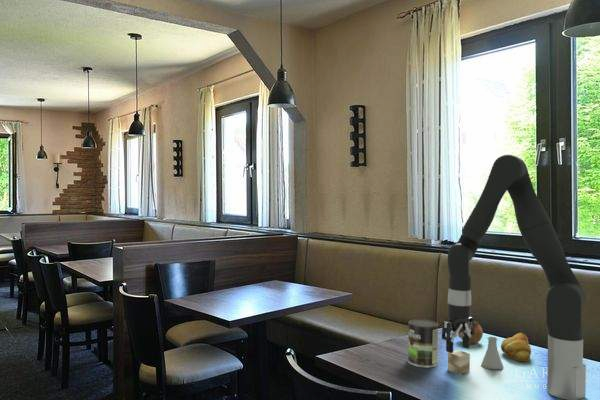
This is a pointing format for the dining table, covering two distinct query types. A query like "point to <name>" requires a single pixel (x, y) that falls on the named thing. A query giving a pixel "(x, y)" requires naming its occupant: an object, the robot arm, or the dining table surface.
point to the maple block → (459, 362)
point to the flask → (492, 355)
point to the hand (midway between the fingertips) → (457, 350)
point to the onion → (477, 334)
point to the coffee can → (422, 343)
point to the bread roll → (517, 347)
